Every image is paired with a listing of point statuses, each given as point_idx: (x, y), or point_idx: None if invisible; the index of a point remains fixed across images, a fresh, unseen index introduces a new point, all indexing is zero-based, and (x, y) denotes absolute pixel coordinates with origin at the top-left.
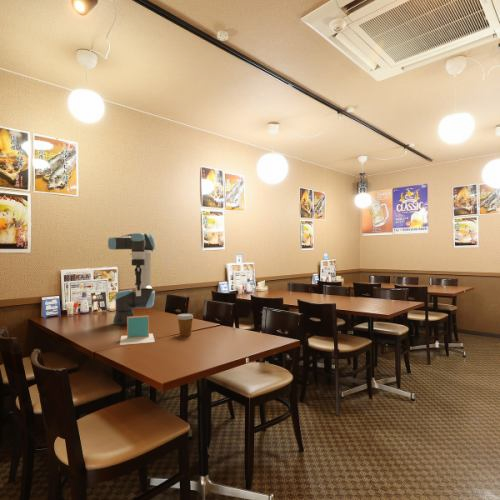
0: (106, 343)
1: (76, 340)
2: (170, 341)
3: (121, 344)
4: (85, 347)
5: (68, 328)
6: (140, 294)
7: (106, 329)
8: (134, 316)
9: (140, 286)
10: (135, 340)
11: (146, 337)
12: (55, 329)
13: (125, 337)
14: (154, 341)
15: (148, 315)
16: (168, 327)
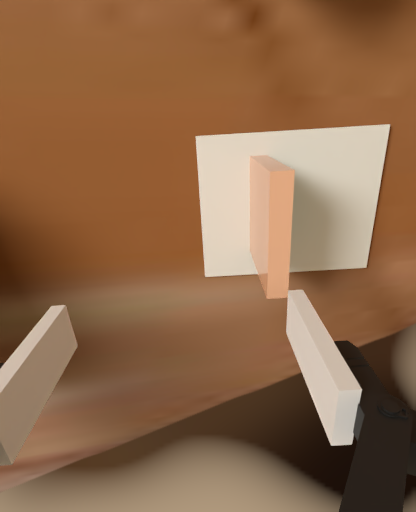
0: None
1: (211, 399)
2: (397, 36)
3: (362, 262)
4: None
5: None
6: (308, 303)
7: None
8: (272, 260)
9: (348, 373)
10: (319, 214)
11: None
12: (19, 477)
13: (243, 258)
14: (381, 126)
15: (271, 173)
16: (17, 31)
